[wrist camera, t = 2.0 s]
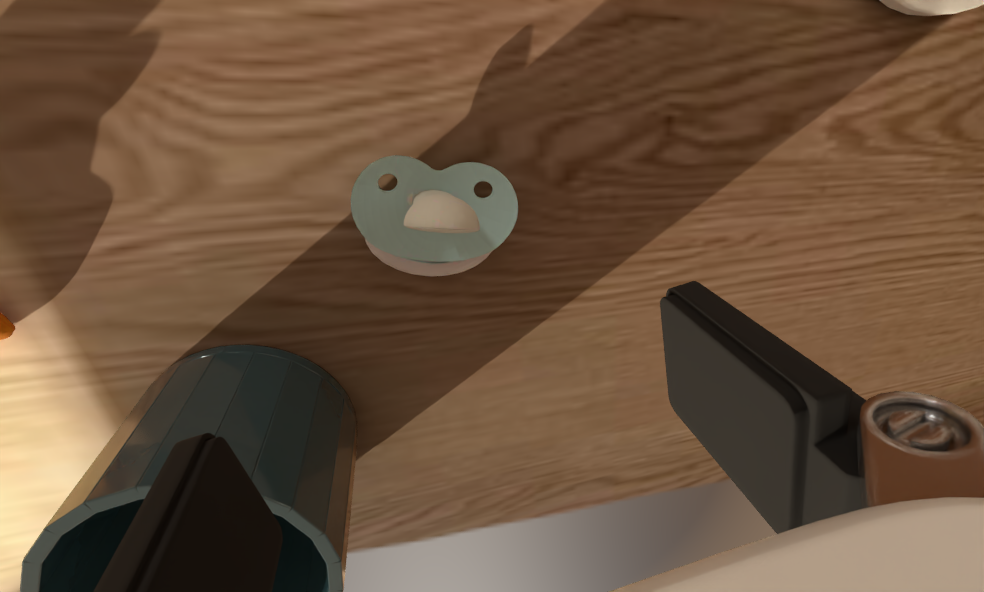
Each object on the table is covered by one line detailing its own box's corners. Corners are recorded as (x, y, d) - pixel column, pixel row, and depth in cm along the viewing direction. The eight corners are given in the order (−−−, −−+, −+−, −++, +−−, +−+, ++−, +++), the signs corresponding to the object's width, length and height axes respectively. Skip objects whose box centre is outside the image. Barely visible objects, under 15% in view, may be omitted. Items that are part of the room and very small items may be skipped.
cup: (312, 317, 26) (271, 445, 17) (384, 470, 31) (380, 626, 22) (94, 381, 25) (-59, 546, 17) (204, 527, 30) (130, 709, 22)
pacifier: (497, 273, 27) (512, 159, 24) (524, 334, 21) (547, 195, 18) (354, 268, 25) (354, 145, 22) (343, 332, 20) (341, 180, 17)
